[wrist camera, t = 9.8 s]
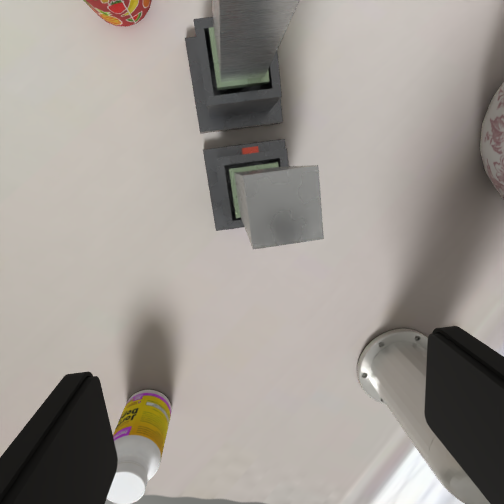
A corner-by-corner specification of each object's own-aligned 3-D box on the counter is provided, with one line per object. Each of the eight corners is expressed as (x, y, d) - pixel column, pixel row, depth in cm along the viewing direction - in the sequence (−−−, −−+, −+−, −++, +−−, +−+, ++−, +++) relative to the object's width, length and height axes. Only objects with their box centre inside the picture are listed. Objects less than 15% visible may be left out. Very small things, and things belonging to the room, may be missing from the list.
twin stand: (272, 31, 38) (359, -213, 14) (281, 122, 40) (369, 53, 16) (185, 41, 37) (118, -195, 13) (200, 133, 40) (166, 77, 16)
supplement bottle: (145, 379, 47) (118, 453, 35) (181, 403, 49) (167, 483, 37) (116, 410, 48) (80, 493, 36) (152, 433, 50) (129, 520, 37)
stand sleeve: (282, 139, 41) (299, 132, 32) (290, 218, 43) (308, 230, 35) (203, 150, 40) (198, 145, 32) (216, 229, 43) (214, 244, 34)
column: (273, 162, 35) (325, 156, 17) (278, 208, 36) (331, 244, 18) (228, 169, 34) (234, 168, 17) (234, 214, 36) (246, 257, 18)
